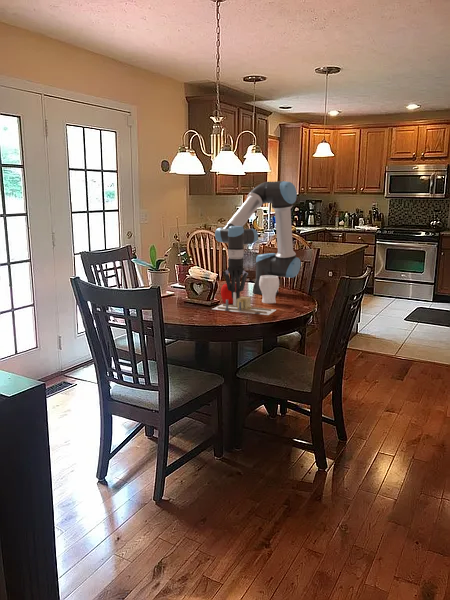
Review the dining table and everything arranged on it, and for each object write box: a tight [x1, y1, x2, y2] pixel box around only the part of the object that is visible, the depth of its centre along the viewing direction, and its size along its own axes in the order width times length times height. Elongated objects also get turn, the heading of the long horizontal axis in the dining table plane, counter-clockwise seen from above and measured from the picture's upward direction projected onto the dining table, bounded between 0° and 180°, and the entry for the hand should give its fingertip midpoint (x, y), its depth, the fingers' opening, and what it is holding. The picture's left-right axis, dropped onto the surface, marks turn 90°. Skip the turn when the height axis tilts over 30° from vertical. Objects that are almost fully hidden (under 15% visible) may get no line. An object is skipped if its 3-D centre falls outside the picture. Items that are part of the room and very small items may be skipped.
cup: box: [259, 275, 280, 304], centre depth 267 cm, size 11×11×15 cm
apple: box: [220, 283, 236, 305], centre depth 265 cm, size 10×10×12 cm
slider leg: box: [237, 295, 252, 311], centre depth 249 cm, size 8×5×6 cm, turn 155°
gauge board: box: [212, 300, 277, 316], centre depth 250 cm, size 12×30×7 cm, turn 65°
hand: (235, 304), depth 252 cm, fingers closed
